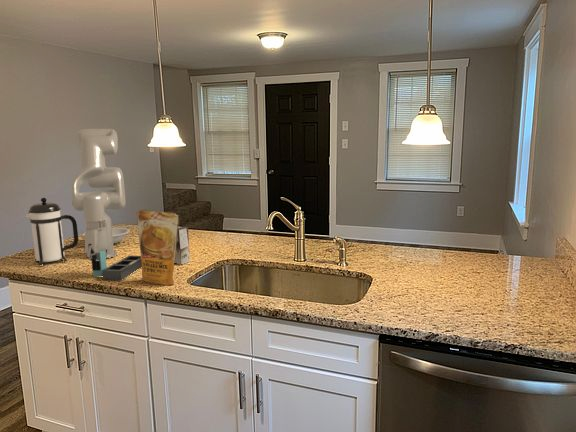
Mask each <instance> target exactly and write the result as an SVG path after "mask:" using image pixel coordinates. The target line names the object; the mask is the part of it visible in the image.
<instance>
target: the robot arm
mask: <svg viewBox="0 0 576 432" xmlns="http://www.w3.org/2000/svg"><path fill="white" fill-rule="evenodd" d="M75 138H76V142H77V145H78V147H79V149H80V151H81V170H80V171H79V172H78V174H77V175H76V176H75V177H74V179H73V180H72V183H71V190H70V191H71V193H70V194H71V204H72V208H73V209H74V210H75V211H78V212H79V211H80V212H81V211H83V215H84V224H85V226H84V227H85V231H84V232H85V237H84V252H85V254H86V257H87V258H89V260H90V262H91V266H92V267H91V268H92V271H93V270H100V261H98V258H99V253H100V252H101V251H104V250H105V252H106V258H109V257H113V256H115V255H117V253H118V252H117V251H116V250H114V249H115V248H114V244H113V236H112V228H113V226H112V219H111V217H110V216H109V214H107V213H106V212H108V211H118V210H119V211H121V210H124V209H125V208H126V193H125V192H126V189H125V181H124V179H125V178H124V173H123V171H122V168H120V167H117V166H116V167H115V166H108V167H107V166H106V157H105V156H115V155H116V154H117V152H118V149H119V148H118V147H119V145H118V144H119V142H118V141H119V139H118V133H117V131H116V130H115V129H113V128H84V129H79V130H78V131H76V133H75ZM85 182H87V185H88V187H90V188H93V189H100V188H101V189H103V188H113V189H111V190H110V189H108V190H105V189H103V190H94V191H85V192H80V189H81V188H80V187H81V186H82V185H83V184H84V183H85ZM93 252H94V253H93ZM93 255H96V257H95V256H93ZM117 256H118V255H117ZM113 258H114V257H113ZM109 259H110V258H109Z"/></svg>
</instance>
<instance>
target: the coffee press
mask: <svg viewBox="0 0 576 432" xmlns="http://www.w3.org/2000/svg"><path fill="white" fill-rule="evenodd" d="M61 211H62V207H60V205H59V204H58V203H56V202H47V198H46V197H41V199H40V202H39V203H35V204H32V205H31V206H30V207H29V209H28V212H27V213H26V216H25V218H29V221H30V225H31V235H32V241H33V249H34V257H35V259H34V261H35V260H37V261H39V262H38V266H39V265H42V264H44V265H45V264H46V263H51V262H56V261H57V262H58V261H60V262H61V261H64V262H65V261H66V262H67V258H66V257H65V256H66V255H65V253H66V252H65V251H67V250H70V249H73V248H76V246H77V245H78V242H79V232H78V225H77V221H76V218H75V217H74V216H72V215H69V214H64V215H61ZM62 220H70V222H71V224H72V231H73V232H72V234H73V242H72V243H71V244H67V245H65V244H64V243H65V242H64V237H63V236H64V235H63V227H62V226H63V225H62Z"/></svg>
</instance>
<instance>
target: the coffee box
mask: <svg viewBox="0 0 576 432" xmlns="http://www.w3.org/2000/svg"><path fill="white" fill-rule="evenodd" d="M189 236H190V235H189V227H187V226H179V225H178V232H177V243H176V252H175V261H174V263H177V264H176V265H179V264H183V265H185V264H184V263H186V264H188V263H190V262H191V256H190V255H191V252H190V238H189ZM189 261H190V262H189ZM187 262H188V263H187Z"/></svg>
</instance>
